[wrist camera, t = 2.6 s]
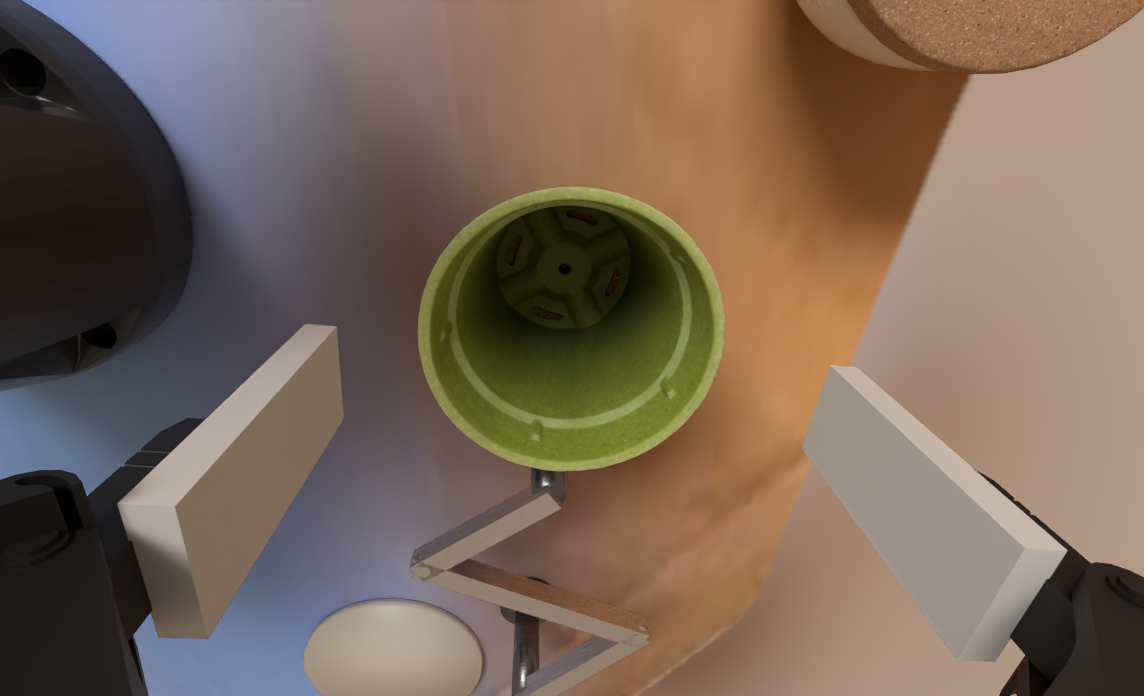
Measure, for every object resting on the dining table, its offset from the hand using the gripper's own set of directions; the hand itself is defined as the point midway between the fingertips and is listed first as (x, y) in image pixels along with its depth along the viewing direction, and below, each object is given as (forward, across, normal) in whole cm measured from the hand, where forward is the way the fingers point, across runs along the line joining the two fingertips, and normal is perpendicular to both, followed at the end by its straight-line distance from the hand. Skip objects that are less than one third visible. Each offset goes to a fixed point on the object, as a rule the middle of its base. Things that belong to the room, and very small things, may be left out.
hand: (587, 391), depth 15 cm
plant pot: (+11, 0, 0) cm, 11 cm away
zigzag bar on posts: (+11, 0, -14) cm, 18 cm away
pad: (+11, -8, -27) cm, 30 cm away
